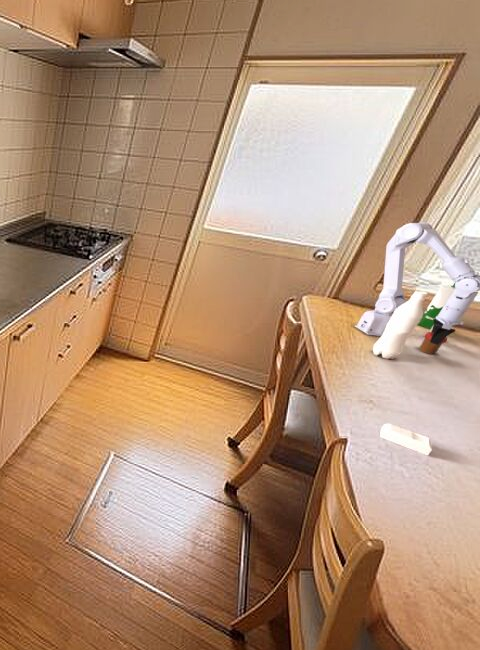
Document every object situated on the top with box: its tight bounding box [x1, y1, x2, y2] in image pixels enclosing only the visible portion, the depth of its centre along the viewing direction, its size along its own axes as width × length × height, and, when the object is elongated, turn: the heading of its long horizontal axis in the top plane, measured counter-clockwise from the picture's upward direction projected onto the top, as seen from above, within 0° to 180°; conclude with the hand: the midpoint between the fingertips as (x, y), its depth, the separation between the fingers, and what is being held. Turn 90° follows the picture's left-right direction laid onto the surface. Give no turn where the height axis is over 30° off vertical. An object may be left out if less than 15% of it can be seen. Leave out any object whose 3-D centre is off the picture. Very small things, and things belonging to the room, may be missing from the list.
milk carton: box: [417, 282, 456, 330], centre depth 178 cm, size 9×9×20 cm
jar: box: [418, 337, 444, 355], centre depth 158 cm, size 5×5×6 cm
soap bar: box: [380, 423, 433, 457], centre depth 108 cm, size 5×9×3 cm, turn 46°
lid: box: [424, 331, 449, 344], centre depth 157 cm, size 6×6×2 cm
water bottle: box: [372, 290, 428, 360], centre depth 148 cm, size 7×7×25 cm
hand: (433, 341), depth 158 cm, fingers closed on lid, 5 cm apart
